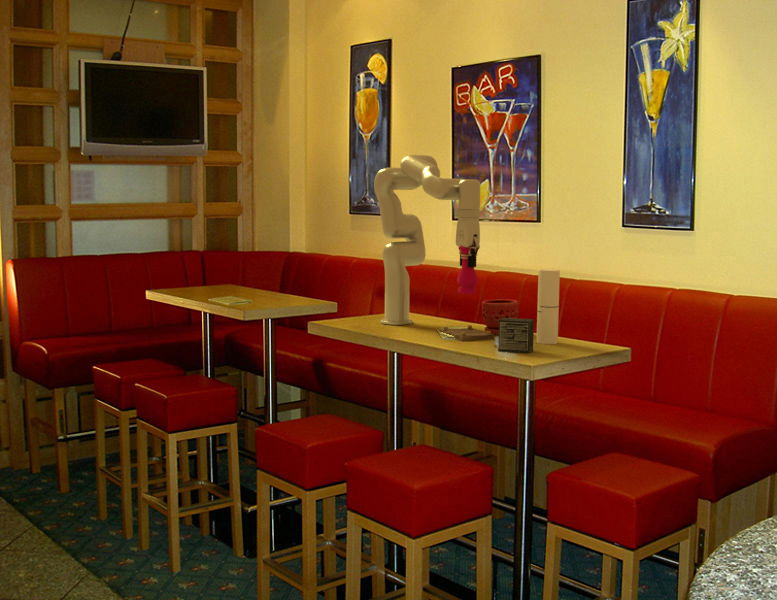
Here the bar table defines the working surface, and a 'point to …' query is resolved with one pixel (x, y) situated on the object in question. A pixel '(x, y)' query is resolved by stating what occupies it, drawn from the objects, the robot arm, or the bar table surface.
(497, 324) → the plant pot
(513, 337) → the small box
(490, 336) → the serving board
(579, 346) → the bar table surface
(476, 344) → the bar table surface
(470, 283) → the pepper mill
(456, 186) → the robot arm
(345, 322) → the bar table surface
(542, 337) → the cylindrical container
